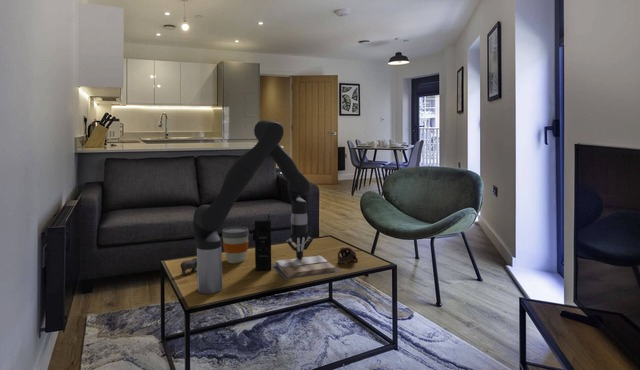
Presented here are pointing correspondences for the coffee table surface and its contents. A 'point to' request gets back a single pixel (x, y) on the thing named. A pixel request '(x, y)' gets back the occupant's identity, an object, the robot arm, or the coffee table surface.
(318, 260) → the plank
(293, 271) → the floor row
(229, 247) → the reusable coffee cup
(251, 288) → the coffee table surface
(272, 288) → the coffee table surface
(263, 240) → the portable radio
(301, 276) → the underlay mat
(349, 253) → the pottery mug
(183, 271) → the rhino figurine
